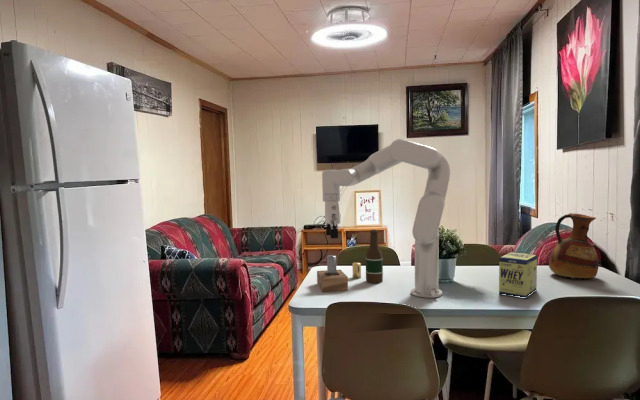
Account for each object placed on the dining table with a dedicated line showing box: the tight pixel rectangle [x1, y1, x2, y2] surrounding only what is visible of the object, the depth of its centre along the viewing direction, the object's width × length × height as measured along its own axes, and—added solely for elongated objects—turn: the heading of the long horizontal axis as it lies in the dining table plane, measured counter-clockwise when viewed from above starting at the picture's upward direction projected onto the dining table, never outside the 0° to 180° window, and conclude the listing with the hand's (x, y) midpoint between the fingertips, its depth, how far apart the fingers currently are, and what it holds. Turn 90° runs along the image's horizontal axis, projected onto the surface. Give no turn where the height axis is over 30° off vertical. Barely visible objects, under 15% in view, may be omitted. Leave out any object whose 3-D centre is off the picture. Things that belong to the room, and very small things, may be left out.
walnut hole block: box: [316, 269, 349, 293], centre depth 189 cm, size 14×11×6 cm
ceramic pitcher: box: [548, 212, 599, 279], centre depth 200 cm, size 20×20×30 cm
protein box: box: [498, 251, 538, 297], centre depth 176 cm, size 10×16×16 cm
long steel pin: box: [326, 254, 337, 276], centre depth 189 cm, size 4×4×14 cm
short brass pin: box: [351, 262, 362, 280], centre depth 206 cm, size 4×4×7 cm
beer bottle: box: [365, 229, 384, 284], centre depth 197 cm, size 8×8×24 cm
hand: (331, 236), depth 188 cm, fingers open, 9 cm apart
